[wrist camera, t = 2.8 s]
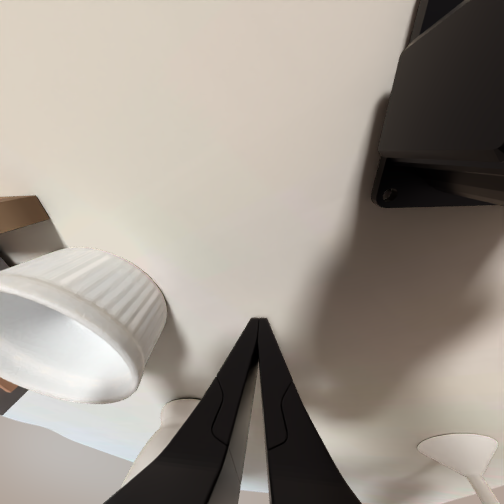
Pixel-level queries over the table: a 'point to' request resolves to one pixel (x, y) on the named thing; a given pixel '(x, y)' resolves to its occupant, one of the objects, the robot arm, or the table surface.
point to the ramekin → (78, 325)
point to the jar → (162, 433)
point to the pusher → (4, 392)
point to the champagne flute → (464, 458)
